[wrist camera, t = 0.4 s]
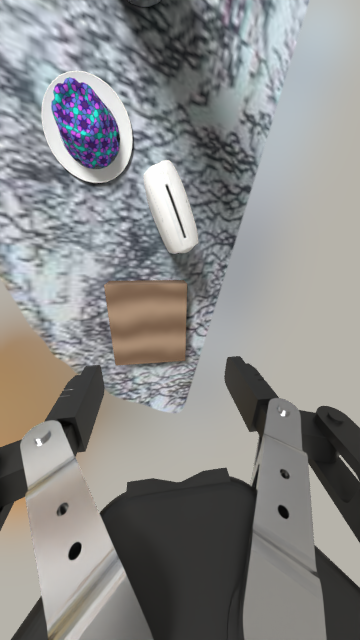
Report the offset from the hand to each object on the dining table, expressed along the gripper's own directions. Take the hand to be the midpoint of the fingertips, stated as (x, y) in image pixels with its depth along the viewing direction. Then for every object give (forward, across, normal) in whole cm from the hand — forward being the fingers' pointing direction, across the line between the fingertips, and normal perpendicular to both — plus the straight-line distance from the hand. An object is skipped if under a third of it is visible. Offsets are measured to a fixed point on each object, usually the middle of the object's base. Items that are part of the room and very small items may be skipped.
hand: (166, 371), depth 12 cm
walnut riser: (+26, +2, +7) cm, 27 cm away
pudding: (+27, +9, -22) cm, 36 cm away
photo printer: (+27, -2, -11) cm, 29 cm away
